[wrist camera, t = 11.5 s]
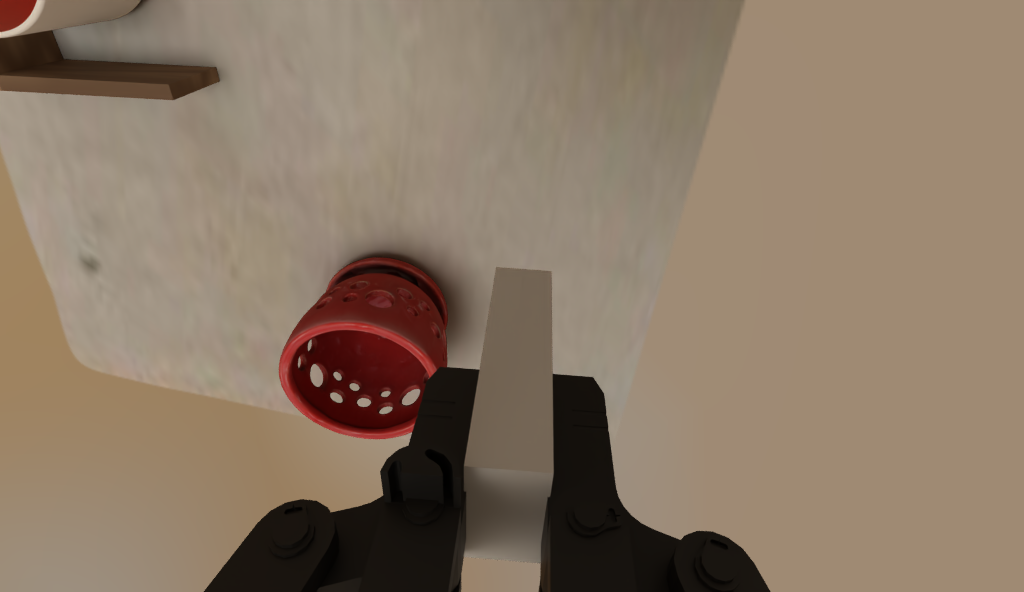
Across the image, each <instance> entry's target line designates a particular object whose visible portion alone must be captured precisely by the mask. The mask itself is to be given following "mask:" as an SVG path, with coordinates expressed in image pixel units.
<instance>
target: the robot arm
mask: <svg viewBox="0 0 1024 592" xmlns="http://www.w3.org/2000/svg"><path fill="white" fill-rule="evenodd" d="M380 473H381V481H382V487H383V496H382V497H380V498H378V499H377V500H375V501H373V502H371V503H368V504H365V505H362V506H359V507H354V508H350V509H345V510H341V511H336V512H330V510H329V509H328V507H326V506H324V505H322V504H321V503H319V502H317V501H312V500H304V499H302V500H296V501H291V502H287V503H284V504H283V505H281V506H279V507H277V508H275V509H273V510H271V511H270V512H269V513H268V514H267V515H266V516H265V517H263V518H262V519H261V520H260V521H259V522H258V523H257V524H256V526H255V527H254V528H253V530H252V531H251V532H250V533H249V535H248V536H247V537H246V539H245V540H244V541H243V542H242V544H241V545H240V546H239V548H238V549H237V550H236V551H235V553H234V554H233V555H232V556H231V558H230V559H229V560H228V562H227V563H226V564H225V565H224V567H223V568H222V569H221V571H220V572H219V573H218V574H217V575H216V577H215V578H214V579H213V581H212V582H211V583H210V584H209V586H208V587H207V588H206V589H205V591H204V592H461V572H462V565H463V558H464V557H471V558H484V559H495V560H508V561H518V562H519V561H520V562H531V563H540V562H541V576H540V586H539V592H770V590H769V589H768V587H767V585H766V583H765V581H764V580H763V578H762V576H761V574H760V573H759V571H758V569H757V568H756V566H755V564H754V562H753V561H752V560H751V559H750V557H749V556H748V555H747V554H746V552H745V551H744V550H743V549H742V548H741V547H740V546H738V545H737V544H736V543H734V542H733V541H732V540H730V539H729V538H727V537H725V536H722V535H720V534H717V533H714V532H709V531H696V532H693V533H690V534H688V535H686V536H684V537H683V538H682V539H681V540H679V539H676V538H674V537H671V536H669V535H666V534H663V533H661V532H658V531H656V530H654V529H651V528H649V527H648V526H646V525H644V524H641V523H640V522H639V521H638V520H636V519H635V518H634V517H632V516H631V515H630V513H629V512H628V511H627V510H626V509H625V508H624V506H623V505H622V503H621V501H620V499H619V497H618V494H617V490H616V485H615V477H614V469H613V462H612V453H611V445H610V437H609V431H608V421H607V416H606V406H605V398H604V393H603V392H602V390H601V389H600V387H599V386H598V384H597V383H596V381H595V380H594V378H593V377H584V376H571V375H558V374H553V371H552V277H551V271H541V270H527V269H514V268H500V267H496V272H495V278H494V285H493V291H492V297H491V303H490V309H489V315H488V321H487V328H486V334H485V340H484V346H483V352H482V358H481V364H480V370H476V369H463V368H450V367H439V368H438V369H437V370H436V372H435V373H434V374H433V375H432V376H431V377H430V378H429V379H428V380H427V382H426V385H425V389H424V393H423V396H422V401H421V403H420V407H419V410H418V415H417V418H416V421H415V425H414V428H413V432H412V435H411V439H410V442H409V446H406V447H404V448H401V449H399V450H398V451H396V452H395V453H394V454H393V455H391V456H390V457H389V458H388V459H387V460H386V462H385V464H384V466H383V467H382V469H381V471H380Z"/></svg>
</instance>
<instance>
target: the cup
mask: <svg viewBox="0 0 1024 592" xmlns="http://www.w3.org/2000/svg"><path fill="white" fill-rule="evenodd" d="M140 1H141V0H0V38H6V37H13V36H19V35H25V34H31V33H37V32H43V31H49V30H55V29H61V28H67V27H73V26H79V25H85V24H91V23H97V22H103V21H109V20H113V19H117V18H119V17H122V16H124V15H126V14H128V13H129V12H130V11H132V10H133V9H134V8H135V7H136V6H137V5H138V3H139V2H140Z"/></svg>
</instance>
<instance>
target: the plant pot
mask: <svg viewBox="0 0 1024 592" xmlns="http://www.w3.org/2000/svg"><path fill="white" fill-rule="evenodd" d="M447 321H448V311H447V305H446V302H445V299H444V296H443V294H442V292H441V291H440V289H439V287H438V286H437V285H436V283H435V282H434V281H433V280H432V279H431V278H430V277H429V276H428V275H426V274H425V273H424V272H423V271H421V270H420V269H418V268H416V267H414V266H412V265H410V264H408V263H406V262H403V261H400V260H396V259H391V258H367V259H363V260H359V261H356V262H353V263H351V264H349V265H347V266H346V267H344V268H343V269H341V270H340V271H339V272H338V273H337V274H336V275H335V276H334V277H333V278H332V280H331V281H330V283H329V285H328V287H327V290H326V293H324V294H323V295H322V296H321V298H320V299H319V300H318V301H317V303H316V304H315V305H314V306H313V307H312V308H311V309H310V310H309V311H308V312H307V313H306V314H305V315H304V316H303V317H302V319H301V320H300V321H299V323H298V324H297V326H296V327H295V329H294V330H293V332H292V334H291V335H290V337H289V339H288V341H287V343H286V345H285V347H284V349H283V352H282V355H281V358H280V363H279V377H280V381H281V385H282V387H283V390H284V391H285V393H286V395H287V397H288V398H289V400H290V401H291V402H292V403H293V405H294V406H295V407H296V408H297V409H298V410H299V411H300V412H301V413H302V414H304V415H305V416H306V417H308V418H309V419H311V420H312V421H313V422H315V423H317V424H319V425H321V426H323V427H325V428H327V429H329V430H332V431H334V432H337V433H340V434H344V435H348V436H353V437H357V438H364V439H387V438H394V437H398V436H402V435H405V434H408V433H411V432H413V428H414V425H415V421H416V418H417V415H418V410H419V407H420V403H421V401H422V396H423V393H424V389H425V385H426V382H427V380H428V379H429V378H430V377H431V376H432V375H433V374H434V373H435V372H436V370H437V369H438V368H439V367H447V341H446V333H445V329H446V326H447ZM310 340H312V346H311V349H310V351H309V352H308V343H309V341H310ZM299 357H300V359H301V364H300V367H299V368H298V359H299ZM313 364H316V365H318V366H319V368H320V369H321V371H322V373H323V383H322V385H321V386H320V387H316V386H314V385H313V383H312V382H311V378H310V370H311V367H312V365H313ZM334 372H338V373H340V374H341V376H342V379H341V380H340V381H338V380H336V379H335V378H334V376H333V373H334ZM351 383H356V384H358V385H359V387H360V389H359V390H358V391H353V390H351V389H350V387H349V385H350V384H351ZM414 389H420V395H419V397H418V398H417V400H416V401H415V402H414V403H413V404H411V405H407V406H406V405H403V404H402V399H403V398H404V396H405V395H406V394H407V393H408V392H410V391H411V390H414ZM384 391H390V392H391V393H390V395H389V396H388V397H382V396H381V393H382V392H384ZM332 392H335V393H338V394H339V395H340V396H341V397H342V399H343V402H342V403H337V402H335V401H333V400H332V399H331V398H330V393H332ZM360 398H367V399H369V400H370V401H371V404H370V405H369V406H368V407H360V406H359V405H358V404H357V401H358V400H359V399H360ZM387 406H390V407H393V409H392V411H391V412H390V413H387V414H380V413H379V411H380V410H381V409H382V408H383V407H387Z"/></svg>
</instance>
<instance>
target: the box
mask: <svg viewBox="0 0 1024 592" xmlns="http://www.w3.org/2000/svg"><path fill="white" fill-rule="evenodd" d="M217 82H219V77H218V73H217V69H216V67H199V66H180V65H161V64H143V63H124V62H105V61H87V60H68V59H63V57H62V55H61V52H60V50H59V48H58V45H57V43H56V40H55V38H54V35H53V33H52V30H49V31H43V32H37V33H31V34H25V35H19V36H13V37H6V38H0V90H1V91H19V92H37V93H55V94H73V95H91V96H109V97H127V98H145V99H163V100H175V99H177V98H180V97H182V96H185V95H187V94H190V93H192V92H194V91H197V90H199V89H202V88H204V87H207V86H209V85H212V84H214V83H217Z"/></svg>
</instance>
